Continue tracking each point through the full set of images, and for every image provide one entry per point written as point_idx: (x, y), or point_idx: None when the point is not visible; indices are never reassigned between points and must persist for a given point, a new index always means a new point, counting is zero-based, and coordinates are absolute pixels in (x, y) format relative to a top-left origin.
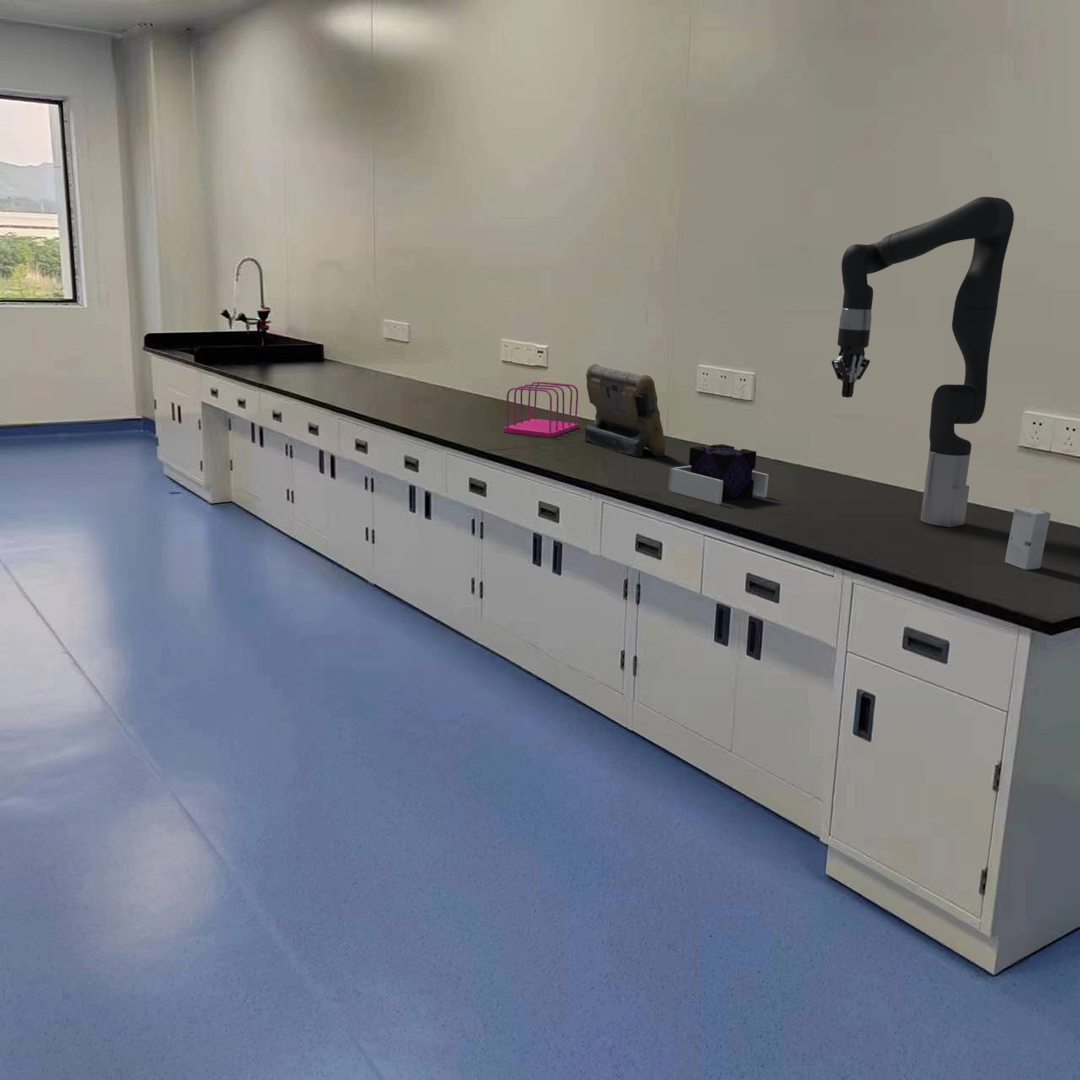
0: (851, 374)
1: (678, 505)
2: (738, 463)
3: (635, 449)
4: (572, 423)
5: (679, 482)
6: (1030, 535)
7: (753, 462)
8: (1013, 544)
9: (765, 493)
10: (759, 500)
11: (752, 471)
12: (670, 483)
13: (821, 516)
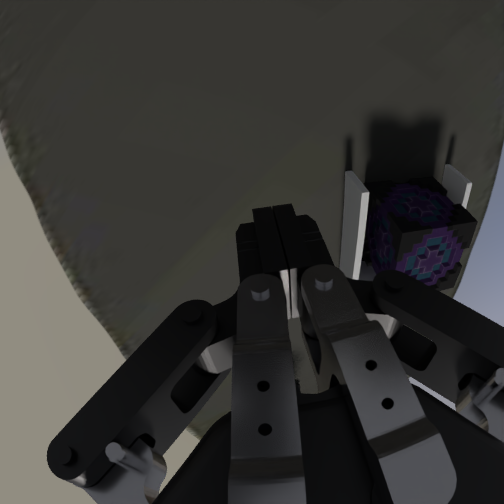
0: (340, 322)
1: (485, 184)
2: (427, 220)
3: (300, 392)
4: None
5: None
6: None
7: (397, 218)
8: None
9: (351, 174)
10: (376, 157)
11: (364, 224)
12: None
13: (375, 14)
